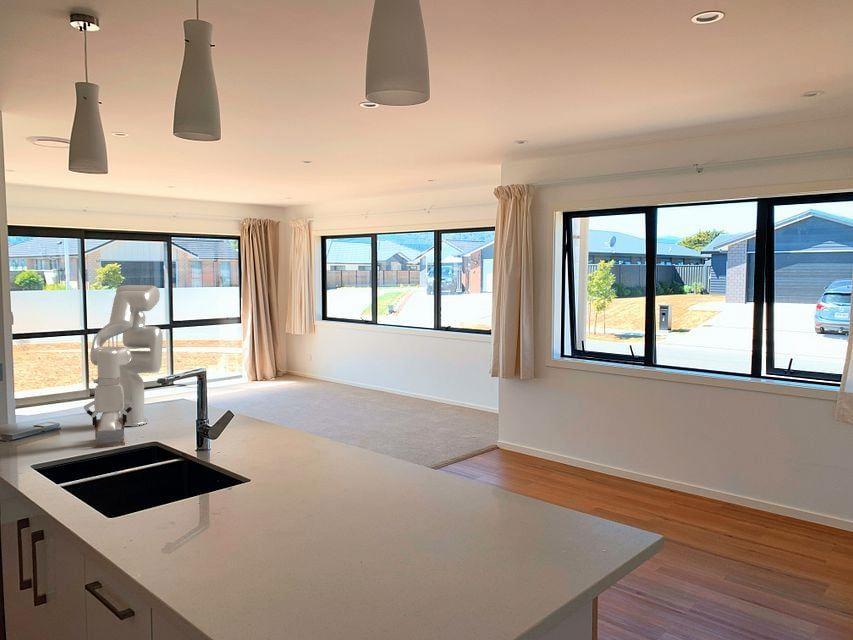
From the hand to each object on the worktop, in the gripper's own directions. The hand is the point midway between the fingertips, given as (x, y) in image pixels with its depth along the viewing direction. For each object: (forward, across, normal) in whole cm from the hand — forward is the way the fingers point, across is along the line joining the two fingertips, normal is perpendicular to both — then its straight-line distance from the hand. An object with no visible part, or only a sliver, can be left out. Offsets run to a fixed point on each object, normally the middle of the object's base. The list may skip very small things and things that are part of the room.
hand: (109, 425), depth 238 cm
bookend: (+5, 0, -5) cm, 7 cm away
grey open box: (+6, 0, 0) cm, 6 cm away
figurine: (+5, 0, 0) cm, 5 cm away
